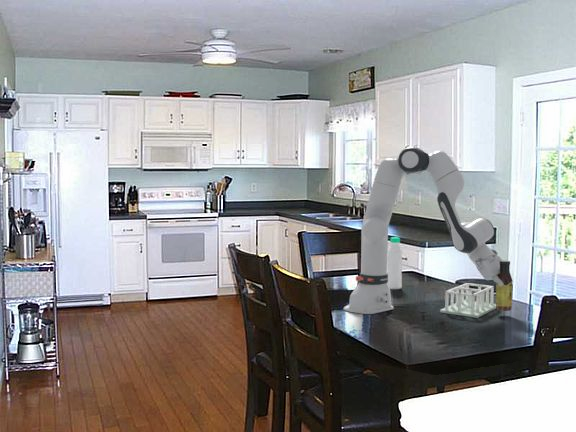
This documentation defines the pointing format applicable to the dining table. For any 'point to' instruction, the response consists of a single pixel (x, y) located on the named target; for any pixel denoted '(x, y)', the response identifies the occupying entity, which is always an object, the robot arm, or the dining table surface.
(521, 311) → the dining table surface
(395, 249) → the water bottle
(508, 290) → the sauce bottle
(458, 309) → the dish rack
